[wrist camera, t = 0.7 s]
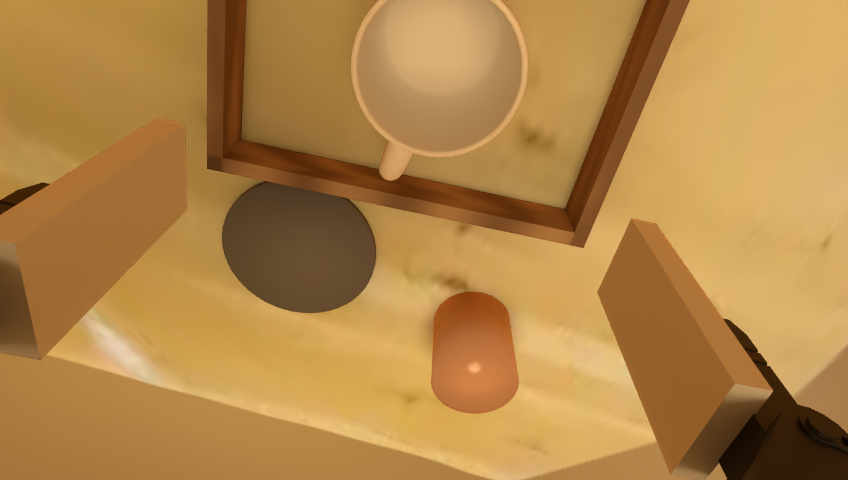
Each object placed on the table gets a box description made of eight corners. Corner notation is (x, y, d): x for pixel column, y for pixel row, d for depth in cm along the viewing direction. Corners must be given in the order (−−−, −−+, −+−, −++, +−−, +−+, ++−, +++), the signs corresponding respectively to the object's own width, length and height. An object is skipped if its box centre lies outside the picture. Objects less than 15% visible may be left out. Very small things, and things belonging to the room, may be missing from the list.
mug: (446, 167, 38) (444, 239, 29) (338, 118, 36) (301, 178, 28) (533, 3, 32) (563, 29, 23) (409, -64, 31) (392, -62, 22)
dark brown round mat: (223, 293, 44) (220, 297, 44) (226, 162, 38) (223, 165, 38) (363, 320, 45) (362, 324, 45) (388, 196, 39) (387, 200, 39)
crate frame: (226, 150, 38) (207, 168, 35) (233, -154, 29) (207, -164, 26) (573, 224, 40) (583, 247, 37) (681, -42, 31) (706, -40, 28)
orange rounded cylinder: (426, 343, 46) (423, 404, 40) (443, 284, 43) (442, 342, 37) (497, 357, 47) (504, 420, 41) (519, 300, 43) (529, 359, 37)
